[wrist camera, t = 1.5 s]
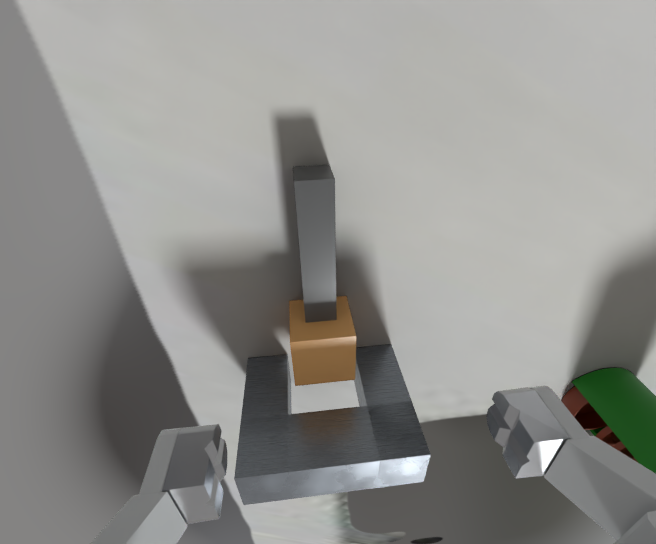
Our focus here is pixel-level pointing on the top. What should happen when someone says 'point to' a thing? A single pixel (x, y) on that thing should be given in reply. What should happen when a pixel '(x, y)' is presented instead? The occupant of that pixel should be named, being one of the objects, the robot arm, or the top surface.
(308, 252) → the plug
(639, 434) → the motor
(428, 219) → the top surface
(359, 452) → the grey u-shaped block
